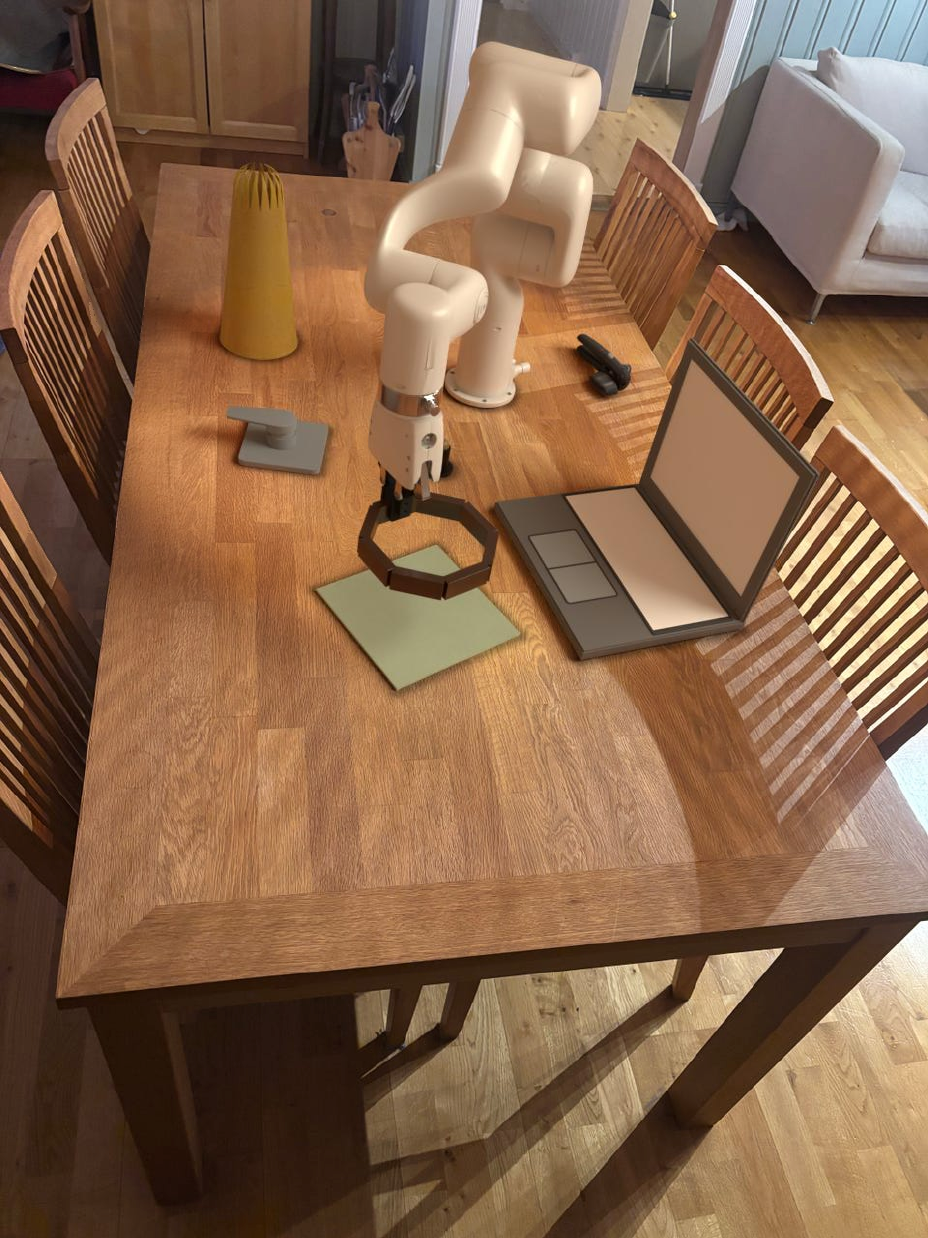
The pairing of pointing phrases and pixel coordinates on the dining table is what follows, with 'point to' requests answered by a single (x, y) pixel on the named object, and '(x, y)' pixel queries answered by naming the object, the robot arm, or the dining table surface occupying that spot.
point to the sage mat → (416, 621)
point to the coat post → (446, 460)
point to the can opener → (604, 367)
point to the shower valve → (280, 440)
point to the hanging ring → (423, 581)
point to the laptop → (670, 524)
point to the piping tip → (258, 271)
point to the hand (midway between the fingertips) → (395, 512)
